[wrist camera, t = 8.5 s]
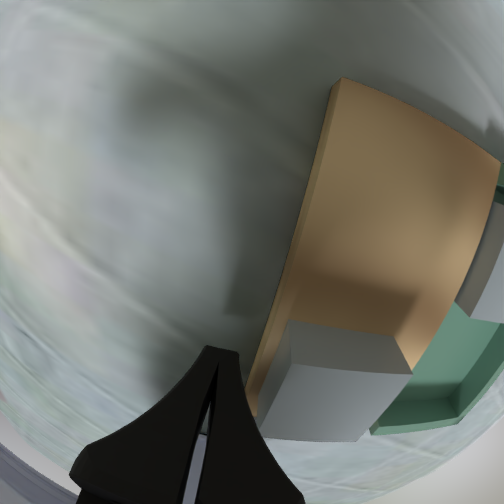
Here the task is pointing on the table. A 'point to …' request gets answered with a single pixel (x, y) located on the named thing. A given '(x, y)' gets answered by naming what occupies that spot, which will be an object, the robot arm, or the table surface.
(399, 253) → the board
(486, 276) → the tile right
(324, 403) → the tile left
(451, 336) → the tray
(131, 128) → the table surface
